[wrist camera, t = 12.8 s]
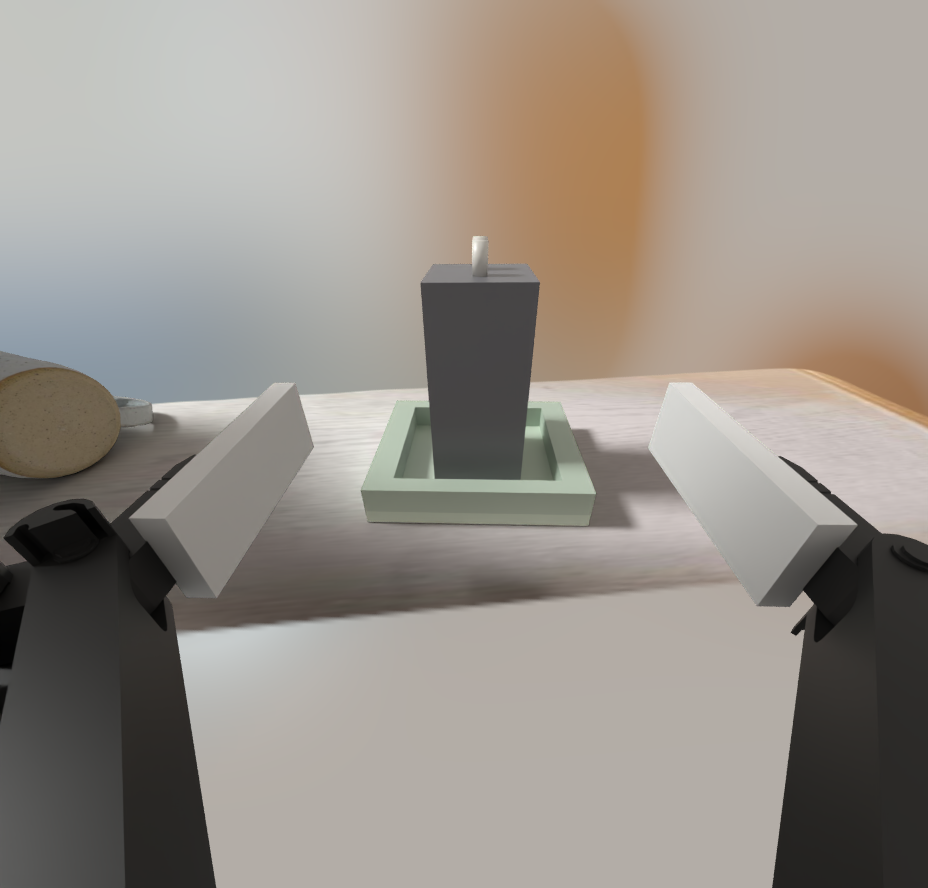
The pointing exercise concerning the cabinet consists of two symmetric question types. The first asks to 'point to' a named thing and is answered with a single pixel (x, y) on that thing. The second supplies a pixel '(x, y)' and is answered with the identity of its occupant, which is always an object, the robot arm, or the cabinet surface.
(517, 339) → the charger brick
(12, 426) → the ceramic mug
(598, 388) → the cabinet surface
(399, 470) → the shallow pale green tray
